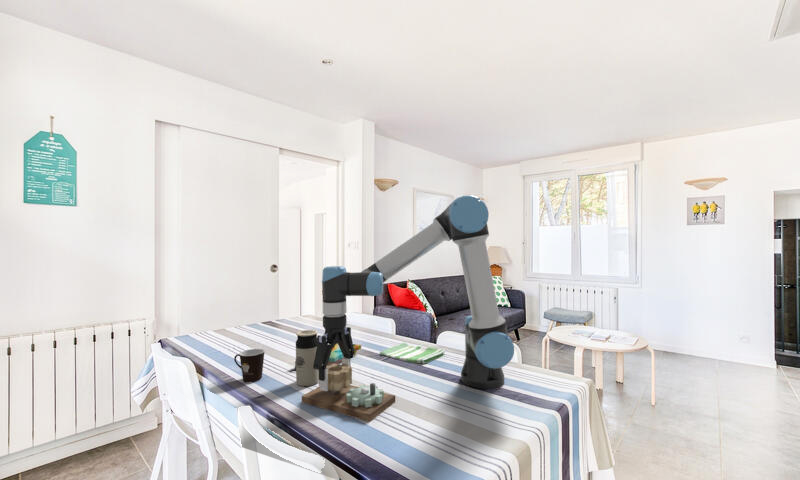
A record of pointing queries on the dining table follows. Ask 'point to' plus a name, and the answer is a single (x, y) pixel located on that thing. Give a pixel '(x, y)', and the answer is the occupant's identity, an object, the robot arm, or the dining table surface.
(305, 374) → the travel mug
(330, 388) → the beech gear
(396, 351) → the dish towel
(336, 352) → the puzzle game
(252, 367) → the coffee mug
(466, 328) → the robot arm
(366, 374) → the dining table surface
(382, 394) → the gear
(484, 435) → the dining table surface
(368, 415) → the gear board
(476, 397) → the dining table surface
